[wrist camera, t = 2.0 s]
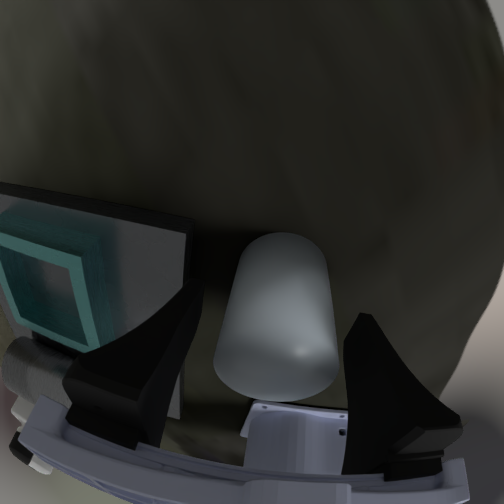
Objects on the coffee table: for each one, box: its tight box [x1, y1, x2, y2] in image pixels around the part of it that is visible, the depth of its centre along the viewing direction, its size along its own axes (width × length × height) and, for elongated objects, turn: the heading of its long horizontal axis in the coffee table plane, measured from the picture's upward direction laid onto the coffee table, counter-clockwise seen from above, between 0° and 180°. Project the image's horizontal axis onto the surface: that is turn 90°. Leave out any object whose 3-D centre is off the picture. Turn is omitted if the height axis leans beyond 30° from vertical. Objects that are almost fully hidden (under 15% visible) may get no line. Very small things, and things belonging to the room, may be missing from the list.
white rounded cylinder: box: [213, 232, 339, 402], centre depth 14 cm, size 5×5×6 cm
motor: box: [0, 182, 195, 420], centre depth 18 cm, size 18×20×7 cm
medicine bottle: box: [9, 396, 54, 474], centre depth 26 cm, size 7×7×12 cm
